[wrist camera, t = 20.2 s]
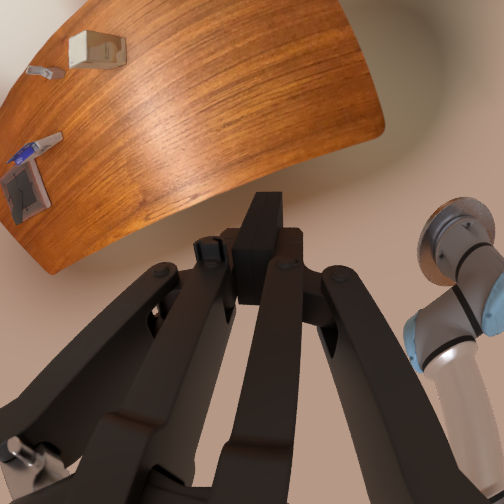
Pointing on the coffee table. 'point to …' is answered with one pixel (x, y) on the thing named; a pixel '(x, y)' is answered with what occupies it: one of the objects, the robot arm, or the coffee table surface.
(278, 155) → the coffee table surface
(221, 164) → the coffee table surface
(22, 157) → the ink box
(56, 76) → the lighter
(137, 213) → the coffee table surface
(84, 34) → the cosmetic box
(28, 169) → the picture frame
